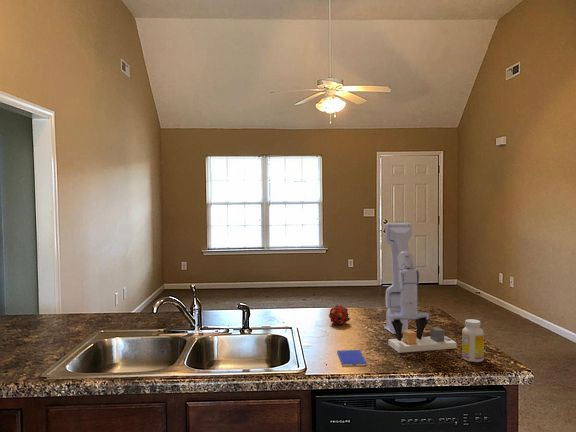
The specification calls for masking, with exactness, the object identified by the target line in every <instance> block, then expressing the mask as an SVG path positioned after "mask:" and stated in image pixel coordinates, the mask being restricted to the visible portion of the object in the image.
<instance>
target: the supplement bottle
mask: <svg viewBox="0 0 576 432" xmlns="http://www.w3.org/2000/svg"><path fill="white" fill-rule="evenodd" d="M464 321H465V322H464V324H465V327H464V328H462V331H461V333H462V334H461V335H462V336H461V343H462V345H461V346H462V347H461V349H462V351H461V353H462V354H461V355H462V356H461V357H462V359H464V360H465V361H467V362H469V363H470V362H471V363H472V362H473V363H481V362H483V361H484V360H485V333H484V332H485V331H484V330H483V329H482V328H481V326H482V325H481V321H480V320H478V319H473V318H471V319H469V318H467V319H465V320H464Z"/></svg>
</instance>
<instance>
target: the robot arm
mask: <svg viewBox="0 0 576 432" xmlns="http://www.w3.org/2000/svg"><path fill="white" fill-rule="evenodd" d="M412 228H413V227H412V224H411V223H410V222H386V223H385V225H384V235H385V236H384V240H385V243H386V244H388V245H389V246H390V253H391V257H390V258H391V259H390V260H391V283H392V284H391V285H390V286H389V287H387V288H386V290H385V298H384V301H385V307H386V309H387V310H386V313H385V316H386V318H385V319H386V320H385V322H386V325H385V326H383V328H384V329H385V330H386V331H388V332H390V334H391V333H392V334H393V335H395V337H396V339H397V340H399V341H401V340H402V338H403V330H409V328H408V322H409V321H410V320H415V328H416V337H417V338H418V339H419V340H421V338H422V337H423V334H424V333H423V332H424V330H425V328H426V326H427V325H428V323H429V319H430V313H428V312H420V311H419V312H418V285H419V284H420V273H419V272H420V271H419V269H418V267H417V266H416V265H415V260H414V255H413V254H412V253H411V252H410V250H409V241H410V240H411V237H412V234H413V229H412Z"/></svg>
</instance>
